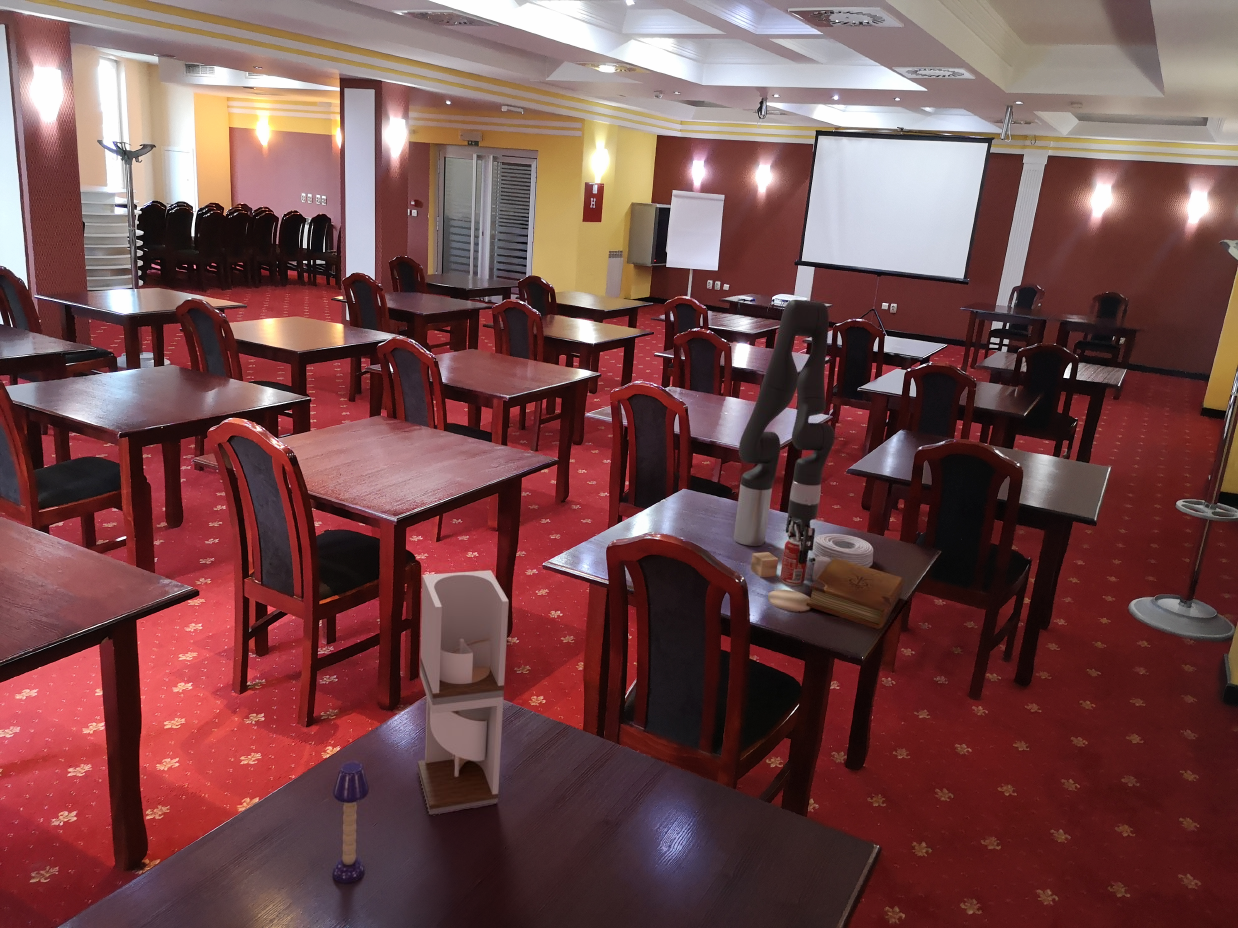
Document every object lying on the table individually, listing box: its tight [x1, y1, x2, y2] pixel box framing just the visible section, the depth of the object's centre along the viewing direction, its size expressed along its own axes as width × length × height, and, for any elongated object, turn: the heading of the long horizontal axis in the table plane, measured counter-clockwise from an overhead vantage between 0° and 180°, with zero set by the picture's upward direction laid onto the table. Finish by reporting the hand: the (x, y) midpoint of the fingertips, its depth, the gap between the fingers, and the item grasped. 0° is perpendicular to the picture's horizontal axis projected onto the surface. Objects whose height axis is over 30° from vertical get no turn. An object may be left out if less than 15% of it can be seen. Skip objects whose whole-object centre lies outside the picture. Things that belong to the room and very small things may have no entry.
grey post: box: [811, 556, 831, 582], centre depth 239 cm, size 4×4×6 cm
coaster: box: [767, 589, 812, 613], centre depth 225 cm, size 11×11×1 cm
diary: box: [806, 558, 905, 630], centre depth 226 cm, size 23×19×6 cm
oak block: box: [750, 551, 779, 578], centre depth 241 cm, size 5×5×5 cm
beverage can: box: [779, 537, 810, 587], centre depth 235 cm, size 6×6×12 cm
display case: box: [417, 570, 509, 815], centre depth 139 cm, size 11×11×35 cm
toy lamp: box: [332, 761, 370, 884], centre depth 122 cm, size 5×5×17 cm
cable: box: [808, 533, 874, 568], centre depth 255 cm, size 18×18×6 cm
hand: (796, 557), depth 235 cm, fingers open, 8 cm apart
